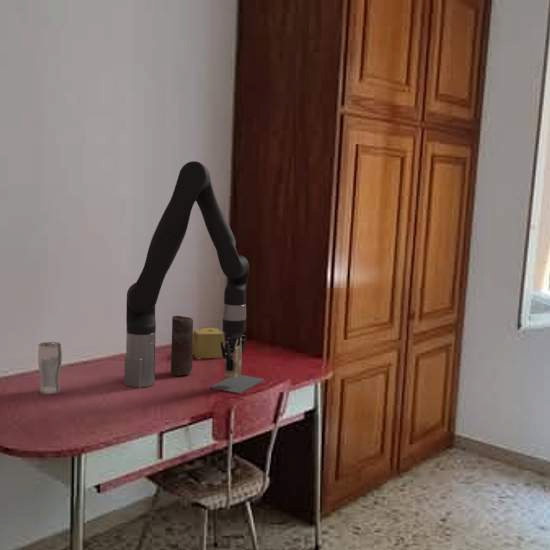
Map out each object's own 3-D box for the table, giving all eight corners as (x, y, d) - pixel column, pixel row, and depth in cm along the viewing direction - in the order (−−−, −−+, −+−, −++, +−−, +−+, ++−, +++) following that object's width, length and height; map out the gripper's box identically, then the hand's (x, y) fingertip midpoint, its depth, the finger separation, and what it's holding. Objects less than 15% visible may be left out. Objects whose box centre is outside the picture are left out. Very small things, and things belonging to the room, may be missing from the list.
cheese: (190, 353, 276) (191, 327, 274) (218, 352, 279) (218, 327, 277) (196, 360, 266) (196, 333, 264) (224, 359, 269) (225, 333, 268)
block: (235, 377, 231) (236, 347, 230) (224, 376, 233) (225, 345, 231) (241, 374, 235) (241, 344, 233) (230, 373, 236) (231, 342, 235)
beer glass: (62, 388, 225) (63, 341, 223) (60, 394, 219) (60, 347, 216) (39, 388, 224) (39, 341, 222) (36, 395, 217) (36, 347, 215)
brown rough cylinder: (175, 369, 251) (176, 314, 248) (195, 371, 250) (196, 315, 247) (167, 375, 244) (168, 318, 241) (188, 377, 242) (189, 320, 240)
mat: (239, 393, 227) (239, 392, 227) (209, 388, 232) (209, 387, 232) (264, 380, 243) (264, 379, 243) (235, 375, 248) (235, 374, 248)
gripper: (234, 322, 223) (232, 375, 226) (254, 315, 236) (252, 365, 238) (213, 319, 226) (212, 372, 229) (234, 312, 239) (233, 362, 241)
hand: (232, 368), depth 233 cm, fingers closed on block, 4 cm apart
